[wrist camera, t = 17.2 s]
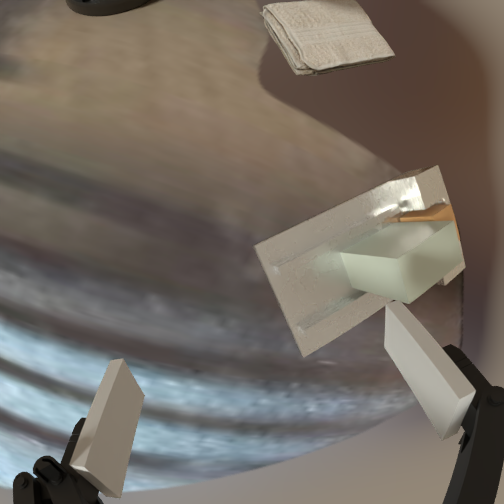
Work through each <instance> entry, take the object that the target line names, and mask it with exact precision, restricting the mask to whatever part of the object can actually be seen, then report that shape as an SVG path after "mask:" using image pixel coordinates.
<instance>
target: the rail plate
mask: <svg viewBox="0 0 504 504" xmlns="http://www.w3.org/2000/svg"><path fill="white" fill-rule="evenodd" d="M445 204H450V200H449V197H448V194H447V191H446V187H445V184H444V181H443V178H442V175H441V173H440V169H439V166H438V165H435V166H431V167H426V168H422V169H417V170H413V171H409V172H406V173H404V174H402V175H400V176H398V177H396V178H393V179H391V180H389V181H387V182H385V183H383V184H381V185H379V186H377V187H374V188H372V189H370V190H368V191H366V192H364V193H362V194H360V195H357V196H355V197H353V198H351V199H349V200H347V201H345V202H343V203H341V204H338V205H336V206H334V207H332V208H330V209H328V210H326V211H324V212H322V213H320V214H317V215H315V216H313V217H311V218H309V219H307V220H305V221H303V222H301V223H298V224H296V225H294V226H292V227H290V228H288V229H286V230H284V231H282V232H280V233H278V234H275V235H273V236H271V237H269V238H267V239H265V240H263V241H261V242H259V243H257V244H255V245H252V246H253V249H254V251H255V253H256V255H257V258H258V260H259V262H260V264H261V267H262V269H263V271H264V273H265V276H266V278H267V280H268V282H269V285H270V287H271V289H272V291H273V294H274V296H275V298H276V300H277V303H278V305H279V307H280V309H281V312H282V314H283V316H284V318H285V321H286V323H287V325H288V327H289V330H290V332H291V334H292V337H293V339H294V341H295V343H296V346H297V348H298V350H299V352H300V355H301V356H302V357H303V358H304V357H305V356H307V355H309V354H310V353H312V352H314V351H315V350H317V349H319V348H321V347H322V346H324V345H325V344H327V343H329V342H330V341H332V340H334V339H335V338H337V337H338V336H340V335H342V334H343V333H345V332H346V331H348V330H349V329H351V328H353V327H354V326H356V325H357V324H359V323H360V322H362V321H363V320H365V319H366V318H368V317H369V316H371V315H372V314H374V313H375V312H377V311H378V310H379V309H381V308H382V307H384V306H385V305H386V304H387V303H389V302H391V301H392V300H393V299H390V298H386V297H383V296H379V295H376V294H373V293H369V292H366V291H362V290H359V289H355V288H352V286H351V283H350V280H349V277H348V274H347V271H346V268H345V265H344V262H343V260H342V257H341V254H340V252H342V251H344V250H346V249H347V248H349V247H351V246H353V245H355V244H357V243H358V242H360V241H362V240H364V239H366V238H368V237H369V236H371V235H373V234H375V233H377V232H379V231H380V230H382V229H384V228H386V227H388V226H389V225H391V224H393V223H396V222H401V221H400V217H402V216H404V215H406V214H407V213H409V212H411V211H412V210H425V209H427V208H429V207H430V206H434V205H445ZM459 245H460V250H461V255H462V260H463V261H462V262H461V263H460V264H458V265H457V266H456V267H455V268H454V269H453V270H451V271H450V272H449V273H448V274H447V275H445V276H444V277H443V278H442V279H440V280H439V281H438V282H437V283H436V284H438V285H444V286H445V285H446V284H448V283H449V282H450V281H451V280H452V279H453V278H454V277H456V276H457V275H458V274H459V273H460V272H461V271H462V270H463V269H464V268H465V262H464V257H463V252H462V247H461V243H460V240H459Z"/></svg>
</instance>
